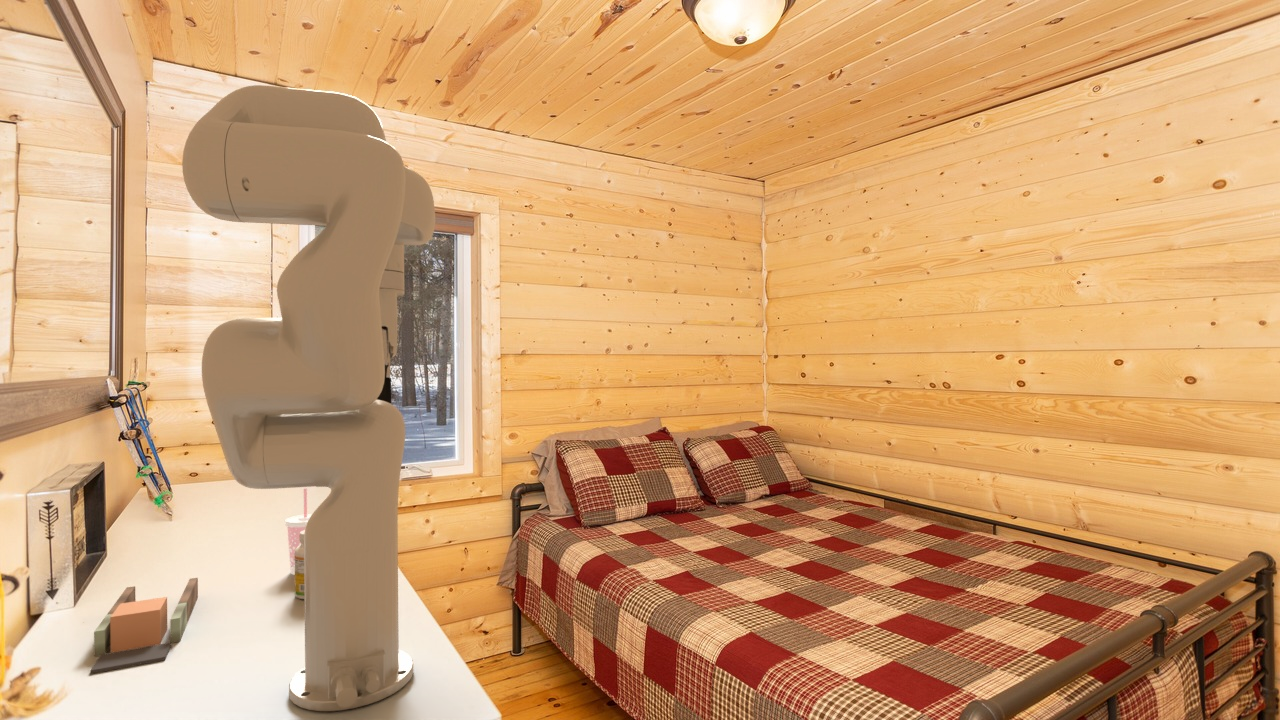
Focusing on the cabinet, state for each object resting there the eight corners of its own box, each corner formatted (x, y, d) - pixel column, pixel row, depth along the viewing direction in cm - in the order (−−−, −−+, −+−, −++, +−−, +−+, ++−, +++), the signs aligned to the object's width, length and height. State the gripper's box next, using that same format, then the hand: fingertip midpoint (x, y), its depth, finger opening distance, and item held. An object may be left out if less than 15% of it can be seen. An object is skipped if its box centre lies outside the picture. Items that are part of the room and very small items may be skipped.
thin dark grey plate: (165, 660, 78) (165, 656, 78) (90, 673, 75) (90, 670, 75) (171, 645, 82) (171, 642, 82) (100, 658, 79) (100, 654, 79)
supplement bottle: (326, 585, 104) (326, 524, 104) (339, 593, 100) (338, 530, 100) (290, 593, 100) (289, 530, 100) (301, 603, 96) (300, 537, 96)
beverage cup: (325, 573, 109) (325, 490, 109) (284, 578, 107) (283, 493, 107) (325, 562, 115) (325, 484, 115) (286, 568, 112) (285, 487, 112)
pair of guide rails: (180, 641, 83) (179, 617, 83) (94, 656, 79) (94, 631, 79) (197, 597, 99) (197, 577, 99) (126, 608, 95) (126, 587, 94)
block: (160, 644, 82) (160, 609, 82) (110, 653, 80) (110, 617, 80) (167, 630, 87) (167, 596, 87) (120, 638, 85) (120, 603, 85)
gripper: (348, 288, 104) (349, 402, 104) (355, 278, 91) (357, 408, 91) (397, 290, 108) (398, 400, 108) (411, 280, 95) (412, 406, 95)
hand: (379, 404), depth 100 cm, fingers closed
